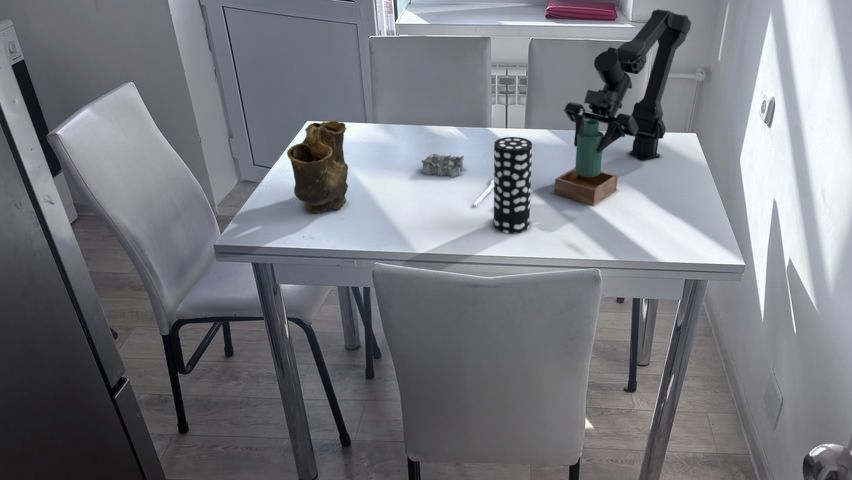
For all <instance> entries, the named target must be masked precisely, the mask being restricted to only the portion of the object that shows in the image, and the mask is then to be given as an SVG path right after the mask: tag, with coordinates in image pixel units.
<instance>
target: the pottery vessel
mask: <svg viewBox="0 0 852 480" xmlns="http://www.w3.org/2000/svg"><path fill="white" fill-rule="evenodd" d="M347 129H348V128H347V127H346V123H344V122H340V121H337V120H330V121H329V120H328V121H322V122H320V123H319V122H313V123H309V125H307V127H306V128H305V129H304V132H305V133H306V135H305V137H304V139H303V141H302V142H300V143H296V144H293V146H290V147H289V148H288V149H287V150H286V151H287V152H286V155H287V158H288V159H289V161H290V163H291V167H292V172H293V177H294V182H295V183H294V187H293V192H294V196H295V197H296V198H297V199H298V200H299V201H301V202H303V203H304V204H305V205H304V208H305V209H306V211H308V212H309V213H313V214H315V213H316V212H318V213H325V212H326V210H327V209H329V208H330V209H332V210H337V211H338V210H340V209H341V208H343V207H344V205H345V204H346V203H347V198H346V193H347V191H348V188H349V185H348V183H347V181H348V173H349V171H348V170H349V166H348V164H347V163H346V161H345V155H344V138H345V132H346V130H347Z"/></svg>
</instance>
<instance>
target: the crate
mask: <svg viewBox="0 0 852 480" xmlns="http://www.w3.org/2000/svg"><path fill="white" fill-rule="evenodd" d="M618 179H619V177H618V175H616V174H612V173H610V172H609V173H608V172H605V171H601V170H600V174H599V175H597V176H594V177H584V176H580V175H578V174H576V172H575V167H573V168H572V169H570V170H568V171H566V172H565V173H563V174H561V175H559V176H557V177H556V178H555V179H554V191H553V193H554V194H555V195H558V196H561V197H565V198H567V199H571V200H574V201H577V202H580V203H583V204H586V205H590V206H595V205H597V204H598V203H600V202H601V201H603V200H604V199H606V198H607V197H609V196H610V195H612V194H613V193H615V192H616V191H617V186H618Z"/></svg>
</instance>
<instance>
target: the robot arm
mask: <svg viewBox="0 0 852 480" xmlns="http://www.w3.org/2000/svg"><path fill="white" fill-rule="evenodd" d="M691 27H692V21H691V19H689V16H688V15H686V14H679V13H675V12H673V11H671V10H666V9H661V8H658V9H657V8H656V9H654V10H653V11H652V12H651V15H650V17H649V19H648V20H647V21H646V22H645V23H644V25H643V26H642V28H641V29H640V30H639V31H638V32H637V33H636V35H635V36H634V37H633V38H632V39H631V40H629V41H626V42H622V44H621V45H619V47H617V48H616V47H610V46H609V47H608V48H607V50H605V51H602V52H601V53H599V54H598V55H597V56H595V58H594V61H593V66H594V68H595V70H596V72H597V73H598V75H599V78H600V79H601V81H602V82H603V83H604V84H603V87H602V89H598V91H596V90H591V89H587V90H586V93H585V97H584V100H583V103H584V104H588V108H589V109H590V110H591V111H589V110H586V109H585V107H584V105H583V104H581V103H577V102H572V101H569V102H568V103H567V104H566V105H565V107H564V109H563V111H564V112H565V114H566V116H567V118H568V119H569V121H571V122H572V123H575V131H574V142H573V145H574V147H575V148H577V135H578V132H580V131H582V130H584V122H585V121H586V120H595V121H598V122H599V123H602V124H606V125H607V126H606V127H607V128H606V131H605V133H604V137H603V139H602V141H601V143H600V145H599V147H598V150H597V151H598V153H600V152H601V151H602V152H603V151H604V150H605V149H606V148H608V147H609V146H610V145H612V144H613V143H614V142H616V141H618V140H619V139H620V138H625V137H626V136H630V137H634V139H633V141H632V150H630V151H629V154H630V155H632V156H634V157H636V158H637V159H640V160H641V161H646V160H651V159H655V158H660V157H661V154H660V153H658V145H659V140H661V139H664V136H665V134H666V129H667V128H666V125H665V123H664V121H663V116H664V111H663V107H662V104H661V102H662V97H663V95H664V91H665V88H666V85H667V81H668V79H669V75H670V72H671V68H672V64H673V60H674V57H675V54H676V51H677V49H678V48H679V47H680V46H682V44H684V42H685V41H686V38H687V35H688V34H689V33H690V31H691ZM656 42H657V44H658V46H657V50H656V54H655V57H654V61H653V63H652V67H651V71H650V74H649V78H648V80H647V85H646V88H645V91H644V94H643V97H642V98H641V100H640V101H639V102H635V104H634V105H633V109H632V113H631V115H630V114H627V113H626V114H625V113H618V114H617V112H618V110H619V109H620V110H621V109H622V108H623V103H622V102H623V100H624V98H625V96H626V93H627V91H628V89H632V88H633V83H632V78H631V76H629V74H634V75H639V74H640V73H641V71H642V70H644V68H645V65H646V63H647V54H648V53H649V51H650V50H651V49H652V47H653V46H654V45H655V44H656ZM616 115H617V116H616Z"/></svg>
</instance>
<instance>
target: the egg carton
mask: <svg viewBox="0 0 852 480" xmlns="http://www.w3.org/2000/svg"><path fill="white" fill-rule="evenodd" d="M464 159H465V158H464V155H461V156H455V155H453V156H452V155H444V154H443V155H442V154H441V155H440V154H438V153H431V154H430V155H428V156H426V158H424V159H422V160H421V162H422V173H424V174H426V175H428V176H429V175H432V174H433V175H434V174H435V175H438V176H441V177H442V176H446V175H447V176H449V177H451V178H454V177H457V176H460V175H461V171H463V170H464Z"/></svg>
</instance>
